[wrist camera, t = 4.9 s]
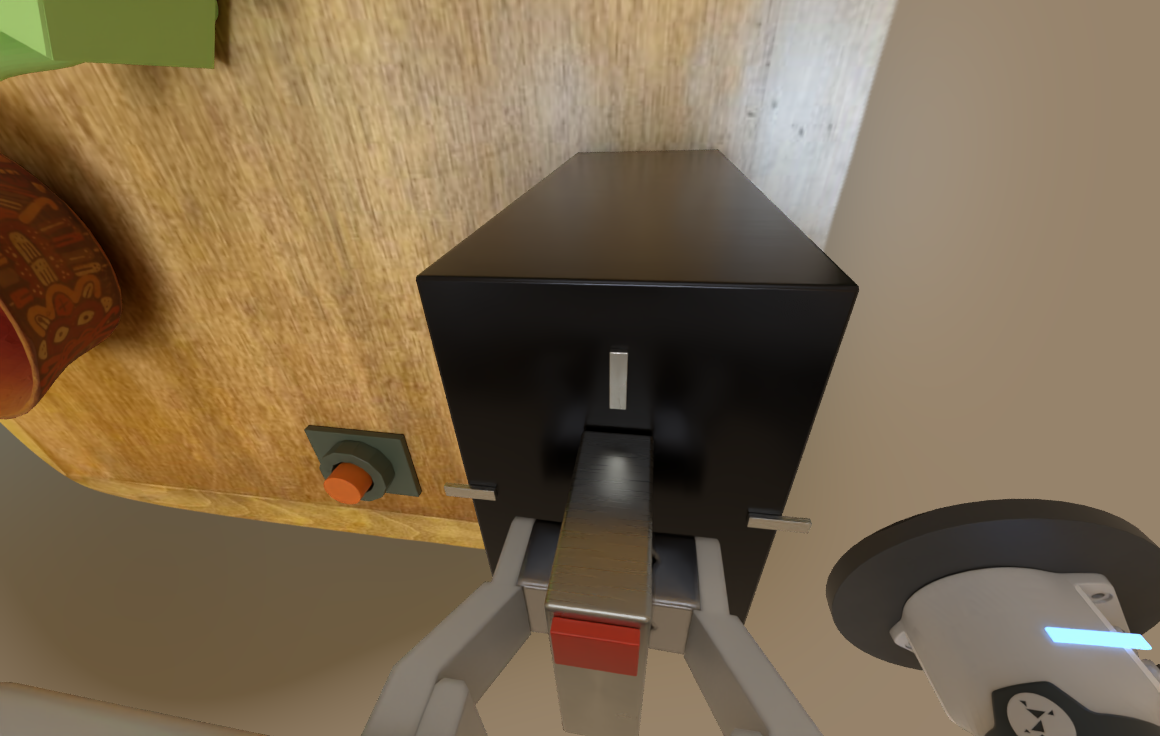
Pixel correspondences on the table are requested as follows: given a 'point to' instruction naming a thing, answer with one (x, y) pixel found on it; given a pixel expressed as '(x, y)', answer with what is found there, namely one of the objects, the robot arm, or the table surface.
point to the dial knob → (603, 586)
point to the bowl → (46, 289)
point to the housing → (367, 458)
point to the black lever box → (639, 346)
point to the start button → (348, 483)
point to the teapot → (105, 33)
